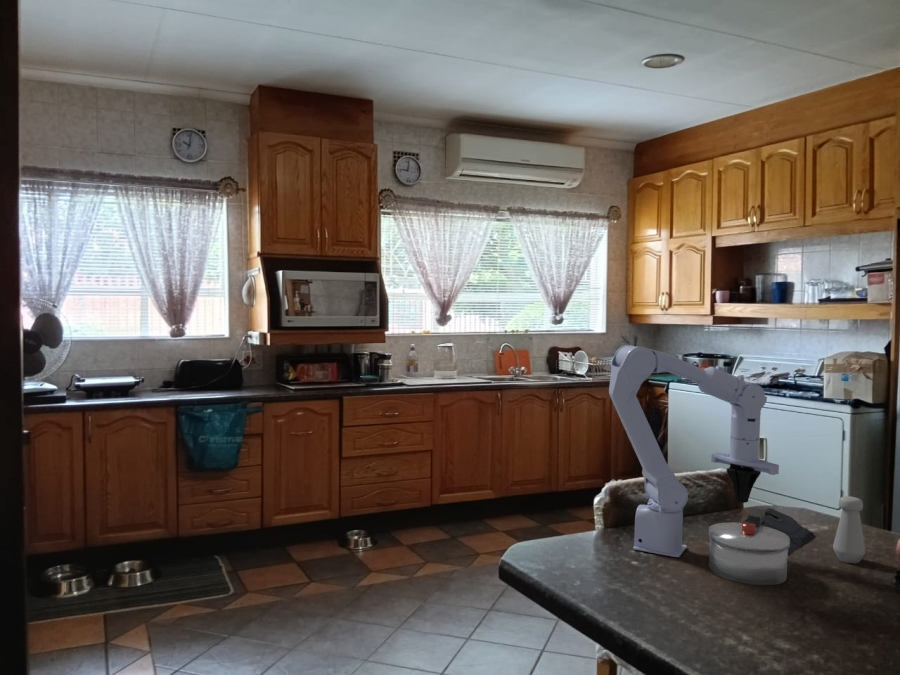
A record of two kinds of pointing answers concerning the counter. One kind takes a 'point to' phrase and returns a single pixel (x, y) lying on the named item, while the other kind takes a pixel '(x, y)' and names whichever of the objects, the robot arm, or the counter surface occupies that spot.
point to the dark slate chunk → (787, 528)
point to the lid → (750, 535)
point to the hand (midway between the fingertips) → (742, 501)
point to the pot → (748, 565)
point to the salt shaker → (849, 531)
